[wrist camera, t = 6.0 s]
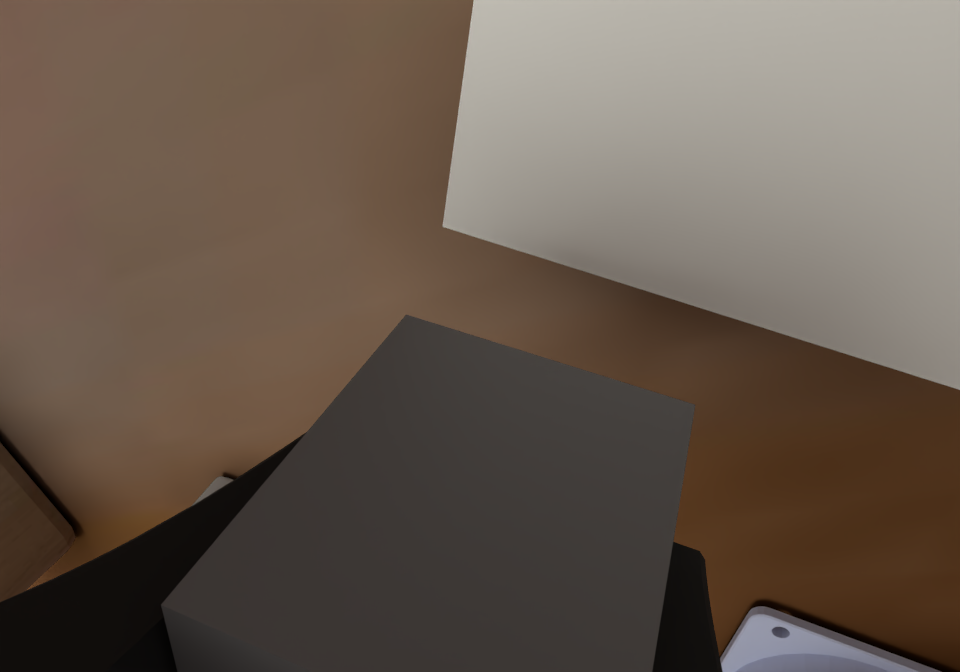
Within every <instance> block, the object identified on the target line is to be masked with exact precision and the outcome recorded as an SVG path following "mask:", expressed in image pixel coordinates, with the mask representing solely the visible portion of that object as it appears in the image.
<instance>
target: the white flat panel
mask: <svg viewBox="0 0 960 672" xmlns="http://www.w3.org/2000/svg"><path fill="white" fill-rule="evenodd" d="M443 227H445V228H448V229H451V230H455V231H458V232H461V233H464V234H467V235H470V236H474V237H477V238H480V239H483V240H486V241H489V242H493V243H496V244H499V245H502V246H505V247H508V248H512V249H515V250H518V251H521V252H524V253H527V254H531V255H534V256H537V257H540V258H543V259H546V260H550V261H553V262H556V263H559V264H562V265H565V266H569V267H572V268H575V269H578V270H581V271H585V272H588V273H591V274H594V275H597V276H600V277H604V278H607V279H610V280H613V281H616V282H619V283H623V284H626V285H629V286H632V287H635V288H638V289H642V290H645V291H648V292H651V293H654V294H657V295H661V296H664V297H667V298H670V299H673V300H676V301H680V302H683V303H686V304H689V305H692V306H695V307H699V308H702V309H705V310H708V311H711V312H714V313H718V314H721V315H724V316H727V317H730V318H734V319H737V320H740V321H743V322H746V323H749V324H753V325H756V326H759V327H762V328H765V329H768V330H772V331H775V332H778V333H781V334H784V335H787V336H791V337H794V338H797V339H800V340H803V341H806V342H810V343H813V344H816V345H819V346H822V347H825V348H829V349H832V350H835V351H838V352H841V353H844V354H848V355H851V356H854V357H857V358H860V359H863V360H867V361H870V362H873V363H876V364H879V365H883V366H886V367H889V368H892V369H895V370H898V371H902V372H905V373H908V374H911V375H914V376H917V377H921V378H924V379H927V380H930V381H933V382H936V383H940V384H943V385H946V386H949V387H952V388H955V389H959V390H960V0H474V3H473V10H472V17H471V24H470V32H469V39H468V46H467V53H466V61H465V68H464V75H463V82H462V90H461V97H460V104H459V111H458V119H457V126H456V133H455V140H454V148H453V155H452V162H451V169H450V177H449V184H448V191H447V198H446V206H445V213H444V220H443Z"/></svg>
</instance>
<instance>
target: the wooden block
mask: <svg viewBox="0 0 960 672" xmlns="http://www.w3.org/2000/svg"><path fill="white" fill-rule="evenodd" d="M75 538H76V537H75V534H74V531H73V529H72V527H71V526H70V524H69V523H68V522H67V521H66V520H65V518H64V517H63V516H62V515H61V514H60V513H59V511H58V510H57V509H56V508H55V507H54V505H53V504H52V503H51V502H50V501H49V500H48V498H47V497H46V496H45V495H44V494H43V492H42V491H41V490H40V489H39V488H38V487H37V485H36V484H35V483H34V482H33V481H32V479H31V478H30V477H29V476H28V475H27V474H26V472H25V471H24V470H23V469H22V468H21V466H20V465H19V464H18V463H17V462H16V461H15V459H14V458H13V457H12V456H11V455H10V453H9V452H8V451H7V450H6V449H5V447H4V446H3V445H2V444H1V443H0V602H2V601H4V600H6V599H8V598H11V597H13V596H15V595H18V594H20V593H22V592H24V591H26V590H27V589H28V588H29V587H30V586H31V585H32V584H33V583H34V582H35V581H36V580H37V579H38V578H39V577H40V576H41V575H42V574H43V573H45V572H46V571H47V570H48V569H49V568H50V567H51V566H52V565H53V564H54V563H55V562H56V561H57V560H58V559H59V558H60V557H61V556H63V555H64V554H65V553H66V552H67V550H68V549H69V548H70V547H71V545H72V543H73V542H74V540H75Z"/></svg>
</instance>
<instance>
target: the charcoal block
mask: <svg viewBox="0 0 960 672" xmlns="http://www.w3.org/2000/svg"><path fill="white" fill-rule="evenodd" d="M694 409H695V405H694V404H691V403H688V402H685V401H681V400H678V399H675V398H672V397H669V396H665V395H662V394H659V393H656V392H652V391H649V390H646V389H643V388H640V387H636V386H633V385H630V384H627V383H624V382H620V381H617V380H614V379H611V378H608V377H604V376H601V375H598V374H595V373H592V372H588V371H585V370H582V369H579V368H576V367H572V366H569V365H566V364H563V363H560V362H556V361H553V360H550V359H547V358H544V357H540V356H537V355H534V354H531V353H527V352H524V351H521V350H518V349H515V348H511V347H508V346H505V345H502V344H499V343H495V342H492V341H489V340H486V339H483V338H479V337H476V336H473V335H470V334H467V333H463V332H460V331H457V330H454V329H451V328H447V327H444V326H441V325H438V324H435V323H431V322H428V321H425V320H422V319H418V318H415V317H412V316H409V315H405V317H404V318H403V319H402V320H401V321H400V323H399V324H398V325H397V326H396V327H395V328H394V330H393V331H392V332H391V333H390V334H389V336H388V337H387V338H386V339H385V340H384V342H383V343H382V344H381V345H380V346H379V347H378V349H377V350H376V351H375V352H374V353H373V355H372V356H371V357H370V358H369V359H368V360H367V362H366V363H365V364H364V365H363V366H362V368H361V369H360V370H359V371H358V372H357V373H356V375H355V376H354V377H353V378H352V379H351V381H350V382H349V383H348V384H347V385H346V386H345V388H344V389H343V390H342V391H341V392H340V394H339V395H338V396H337V397H336V398H335V399H334V401H333V402H332V403H331V404H330V405H329V407H328V408H327V409H326V410H325V411H324V413H323V414H322V415H321V416H320V417H319V418H318V420H317V421H316V422H315V423H314V424H313V426H312V427H311V428H310V429H309V430H308V431H307V433H306V434H305V435H304V436H303V437H302V439H301V440H300V441H299V442H298V443H297V444H296V446H295V447H294V448H293V449H292V450H291V452H290V453H289V454H288V455H287V456H286V457H285V459H284V460H283V461H282V462H281V463H280V465H279V466H278V467H277V468H276V469H275V470H274V472H273V473H272V474H271V475H270V476H269V478H268V479H267V480H266V481H265V482H264V484H263V485H262V486H261V487H260V488H259V489H258V491H257V492H256V493H255V494H254V495H253V497H252V498H251V499H250V500H249V501H248V502H247V504H246V505H245V506H244V507H243V508H242V510H241V511H240V512H239V513H238V514H237V515H236V517H235V518H234V519H233V520H232V521H231V523H230V524H229V525H228V526H227V527H226V528H225V530H224V531H223V532H222V533H221V534H220V536H219V537H218V538H217V539H216V540H215V541H214V543H213V544H212V545H211V546H210V547H209V549H208V550H207V551H206V552H205V553H204V555H203V556H202V557H201V558H200V559H199V560H198V562H197V563H196V564H195V565H194V566H193V568H192V569H191V570H190V571H189V572H188V573H187V575H186V576H185V577H184V578H183V579H182V581H181V582H180V583H179V584H178V585H177V586H176V588H175V589H174V590H173V591H172V592H171V594H170V595H169V596H168V597H167V598H166V599H165V601H164V602H163V603H162V604H161V607H162V611H163V615H164V619H165V623H166V627H167V631H168V635H169V639H170V644H171V648H172V652H173V656H174V660H175V664H176V668H177V672H652V670H653V664H654V657H655V651H656V645H657V639H658V633H659V626H660V620H661V614H662V608H663V602H664V595H665V589H666V583H667V577H668V571H669V564H670V558H671V552H672V546H673V540H674V533H675V527H676V521H677V515H678V509H679V502H680V496H681V490H682V484H683V477H684V471H685V465H686V459H687V453H688V446H689V440H690V434H691V428H692V422H693V415H694Z"/></svg>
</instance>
